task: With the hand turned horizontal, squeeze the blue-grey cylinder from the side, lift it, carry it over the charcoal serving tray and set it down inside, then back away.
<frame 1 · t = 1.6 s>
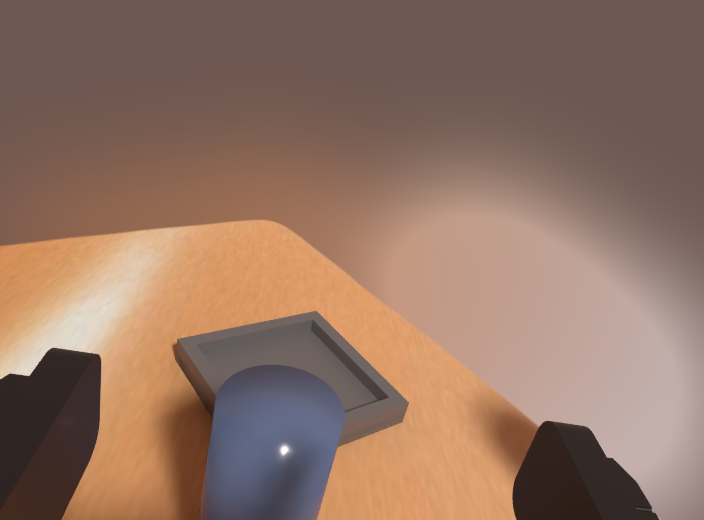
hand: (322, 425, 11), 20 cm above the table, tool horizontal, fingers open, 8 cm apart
tray: (287, 390, 42), on the table
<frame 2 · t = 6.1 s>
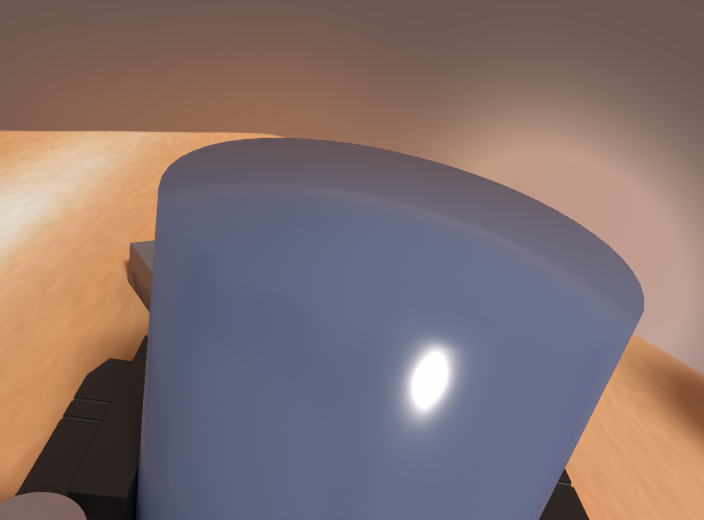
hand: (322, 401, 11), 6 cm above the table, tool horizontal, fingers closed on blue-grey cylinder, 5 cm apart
tray: (323, 331, 24), on the table
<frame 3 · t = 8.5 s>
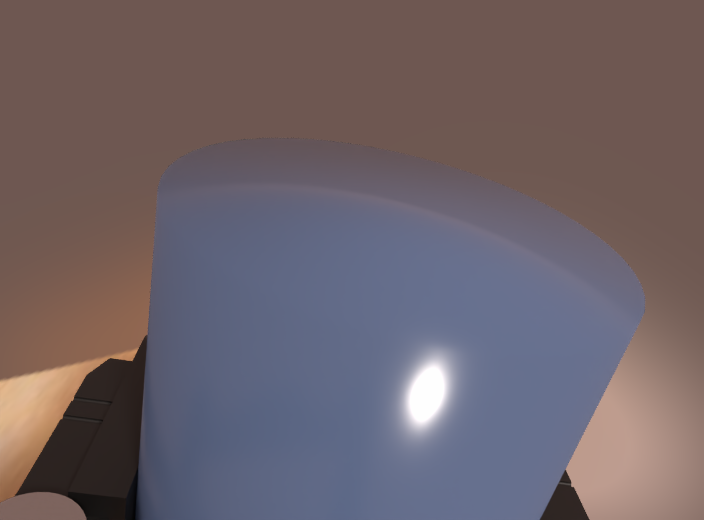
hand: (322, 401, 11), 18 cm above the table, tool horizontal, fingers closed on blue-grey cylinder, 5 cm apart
when the fingers open (8 cm above the table, at t = 10.9 s): blue-grey cylinder stays where it is, resting on tray.
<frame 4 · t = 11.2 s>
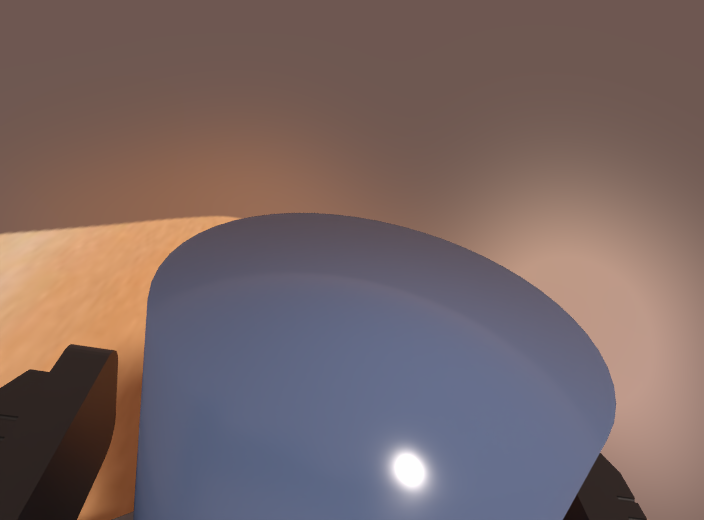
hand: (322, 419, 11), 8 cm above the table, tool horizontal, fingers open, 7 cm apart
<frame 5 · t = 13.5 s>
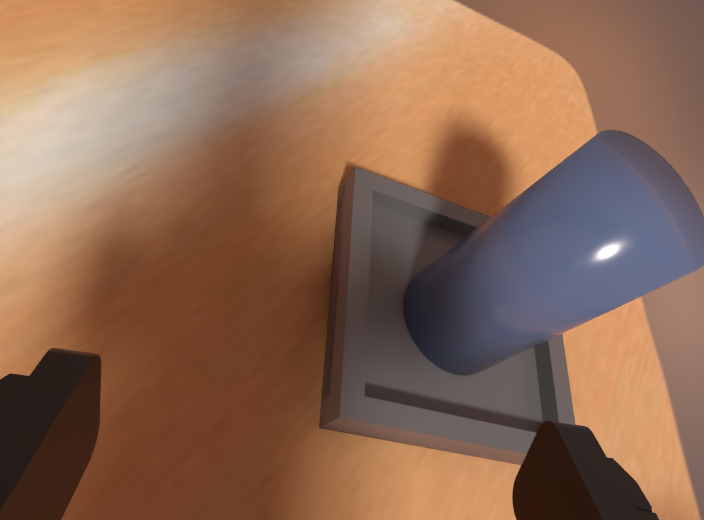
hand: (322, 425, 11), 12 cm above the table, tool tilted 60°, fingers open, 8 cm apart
tray: (442, 324, 28), on the table
blue-grey cylinder: (452, 319, 28), point 1 cm above the table, touching tray
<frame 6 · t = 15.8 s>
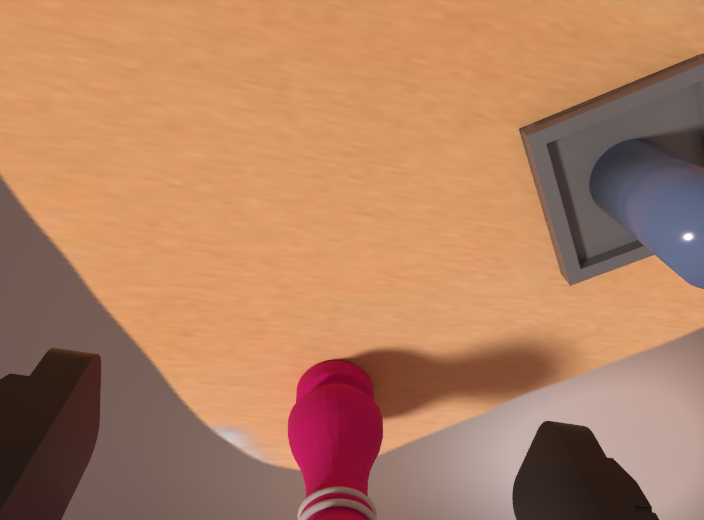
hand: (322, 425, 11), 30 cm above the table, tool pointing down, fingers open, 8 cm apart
tray: (624, 173, 41), on the table
blue-grey cylinder: (628, 177, 40), point 1 cm above the table, touching tray
pepper mill: (334, 388, 48), on the table
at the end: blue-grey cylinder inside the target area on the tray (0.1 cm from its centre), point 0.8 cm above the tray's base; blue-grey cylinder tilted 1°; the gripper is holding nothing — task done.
